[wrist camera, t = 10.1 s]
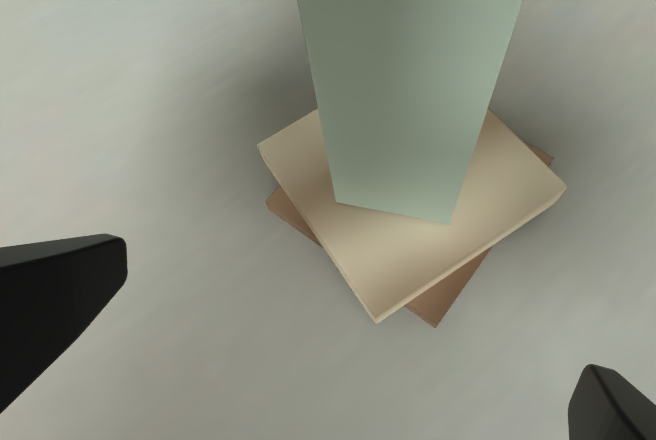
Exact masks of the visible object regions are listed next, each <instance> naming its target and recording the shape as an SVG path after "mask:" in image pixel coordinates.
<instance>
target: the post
mask: <svg viewBox="0 0 656 440" xmlns="http://www.w3.org/2000/svg"><path fill="white" fill-rule="evenodd" d="M297 2H298V7H299V12H300V17H301V22H302V28H303V33H304V38H305V43H306V48H307V54H308V59H309V64H310V69H311V74H312V80H313V85H314V90H315V95H316V101H317V106H318V111H319V116H320V121H321V127H322V132H323V137H324V142H325V147H326V153H327V158H328V163H329V168H330V173H331V179H332V184H333V189H334V194H335V199H336V202H338V203H343V204H348V205H353V206H358V207H363V208H368V209H374V210H379V211H384V212H389V213H394V214H399V215H404V216H409V217H414V218H420V219H425V220H430V221H435V222H440V223H445V224H450V222H451V219H452V216H453V213H454V210H455V207H456V204H457V201H458V198H459V195H460V192H461V189H462V185H463V182H464V179H465V176H466V173H467V170H468V167H469V164H470V161H471V158H472V155H473V152H474V149H475V146H476V143H477V140H478V136H479V133H480V130H481V127H482V124H483V121H484V118H485V115H486V112H487V109H488V106H489V103H490V100H491V97H492V94H493V91H494V87H495V84H496V81H497V78H498V75H499V72H500V69H501V66H502V63H503V60H504V57H505V54H506V51H507V48H508V45H509V42H510V38H511V35H512V32H513V29H514V26H515V23H516V20H517V17H518V14H519V11H520V8H521V5H522V2H523V0H297Z"/></svg>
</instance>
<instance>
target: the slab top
mask: <svg viewBox="0 0 656 440" xmlns="http://www.w3.org/2000/svg"><path fill="white" fill-rule="evenodd" d="M257 146H258V149H259V151H260V153H261V155H262V158H263V160H264V162H265V163H266V165H267V166H268V168H269V169H270V171H271V172H272V174H273V175H274V177H275V178H276V180H277V181H278V182H279V184H280V185H281V187H282V188H283V190H284V191H285V193H286V194H287V196H288V197H289V198H290V200H291V201H292V203H293V204H294V206H295V207H296V209H297V210H298V212H299V213H300V215H301V216H302V217H303V219H304V220H305V222H306V223H307V225H308V226H309V228H310V229H311V231H312V232H313V233H314V235H315V236H316V238H317V239H318V241H319V242H320V244H321V245H322V247H323V248H324V249H325V251H326V252H327V254H328V255H329V257H330V258H331V260H332V261H333V263H334V264H335V266H336V267H337V268H338V270H339V271H340V273H341V274H342V276H343V277H344V279H345V280H346V282H347V283H348V284H349V286H350V287H351V289H352V290H353V292H354V293H355V295H356V296H357V298H358V299H359V301H360V302H361V303H362V305H363V306H364V308H365V309H366V311H367V312H368V314H369V315H370V317H371V318H372V319H373V321H374V322H375V324H377V323H379V322H380V321H382V320H383V319H384V318H386V317H387V316H389V315H390V314H392V313H393V312H395V311H396V310H398V309H399V308H401V307H402V306H404V305H405V304H407V303H408V302H410V301H411V300H413V299H414V298H416V297H417V296H418V295H420V294H421V293H423V292H424V291H426V290H427V289H429V288H430V287H432V286H433V285H435V284H436V283H438V282H439V281H441V280H442V279H444V278H445V277H447V276H448V275H449V274H451V273H452V272H454V271H455V270H457V269H458V268H460V267H461V266H463V265H464V264H466V263H467V262H469V261H470V260H472V259H473V258H475V257H476V256H478V255H479V254H481V253H482V252H483V251H485V250H486V249H488V248H489V247H491V246H492V245H494V244H495V243H497V242H498V241H500V240H501V239H503V238H504V237H506V236H507V235H509V234H510V233H512V232H513V231H515V230H516V229H518V228H519V227H520V226H522V225H523V224H525V223H526V222H528V221H529V220H531V219H532V218H534V217H535V216H537V215H538V214H540V213H541V212H543V211H544V210H546V209H547V208H549V207H550V206H552V205H553V204H554V203H555V202H556V201H557V200H558V199H559V197H560V196H561V195H562V193H563V192H564V191H565V190H566V188H567V187H568V186H567V185H566V184H565V183H564V182H563V181H562V180H561V179H560V178H559V177H558V176H557V175H556V174H555V173H554V172H553V171H552V170H551V169H550V168H549V167H548V166H547V165H546V164H544V163H543V162H542V161H541V160H540V159H539V158H538V157H537V156H536V155H535V154H534V153H533V152H532V151H531V150H530V149H529V148H528V147H527V146H526V145H525V144H524V143H523V142H522V141H521V140H520V139H519V138H518V137H517V136H516V135H515V134H514V133H513V132H512V131H511V130H510V129H509V128H508V127H507V126H506V125H505V124H504V123H503V122H502V121H501V120H500V119H499V118H498V117H497V116H496V115H495V114H494V113H493V112H492V111H491V110H490V109H489V108H488V109H487V112H486V115H485V118H484V121H483V124H482V127H481V130H480V133H479V136H478V140H477V143H476V146H475V149H474V152H473V155H472V158H471V161H470V164H469V167H468V170H467V173H466V176H465V179H464V182H463V185H462V189H461V192H460V195H459V198H458V201H457V204H456V207H455V210H454V213H453V216H452V219H451V222H450V224H445V223H440V222H435V221H430V220H425V219H420V218H414V217H409V216H404V215H399V214H394V213H389V212H384V211H379V210H374V209H368V208H363V207H358V206H353V205H348V204H343V203H338V202H336V199H335V194H334V189H333V184H332V179H331V173H330V168H329V163H328V158H327V153H326V147H325V142H324V137H323V132H322V127H321V121H320V116H319V111H318V108H317V109H316V110H314V111H312V112H311V113H309V114H307V115H306V116H304V117H302V118H301V119H299V120H297V121H295V122H294V123H292V124H290V125H289V126H287V127H285V128H284V129H282V130H280V131H279V132H277V133H275V134H273V135H272V136H270V137H268V138H267V139H265V140H263V141H262V142H260V143H258V144H257Z"/></svg>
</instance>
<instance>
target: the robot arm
mask: <svg viewBox="0 0 656 440" xmlns="http://www.w3.org/2000/svg"><path fill="white" fill-rule="evenodd" d="M127 274H128V270H127V248H126V243H125V241H124V240H123V239H122V238H120V237H117V236H113V235H110V234H98V235H90V236H83V237H75V238H68V239H60V240H53V241H45V242H38V243H31V244H23V245H16V246H8V247H1V248H0V414H1V413H2V412H3V411H4V410H5V409H6V408H7V407H8V406H9V405H10V404H11V403H12V402H13V401H14V400H15V399H16V398H17V397H18V396H19V395H20V394H21V393H22V392H23V391H24V390H25V389H26V388H27V387H29V386H30V385H31V384H32V383H33V382H34V381H35V380H36V379H37V378H38V377H39V376H40V375H41V374H42V373H43V372H44V371H45V370H46V369H47V368H48V367H49V366H50V365H51V364H52V363H53V362H54V361H55V360H56V359H57V358H58V357H59V356H60V355H61V354H62V353H63V352H64V351H66V350H67V349H68V348H69V347H70V346H71V345H72V344H73V343H74V341H75V340H76V339H77V338H78V337H79V336H80V335H81V334H82V333H83V332H84V331H85V329H86V328H87V327H88V326H89V325H90V324H91V322H92V321H93V320H94V319H95V318H96V317H97V315H98V314H99V313H100V312H101V311H102V309H103V308H104V307H105V306H106V305H107V304H108V302H109V301H110V300H111V299H112V298H113V297H114V295H115V294H116V293H117V292H118V291H119V289H120V288H121V287H122V286H123V285H124V283H125V281H126V278H127ZM568 425H569V440H656V405H655V404H654V403H653V402H651V401H650V400H649V399H648V398H647V397H646V396H644V395H643V394H642V393H641V392H640V391H639V390H637V389H636V388H635V387H634V386H633V385H632V384H631V383H629V382H628V381H627V380H626V379H625V378H624V377H622V376H621V375H620V374H619V373H618V372H616V371H615V370H612V369H609V368H605V367H602V366H598V365H594V364H589V365H587V366H586V367H585V368H584V369H583V371H582V374H581V376H580V378H579V381H578V383H577V385H576V388H575V390H574V393H573V395H572V397H571V400H570V403H569V407H568Z"/></svg>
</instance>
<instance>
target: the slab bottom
mask: <svg viewBox="0 0 656 440" xmlns="http://www.w3.org/2000/svg"><path fill="white" fill-rule="evenodd" d="M522 142H523V141H522ZM523 143H524V144H525V145H526V146H527V147H528V148H529V149H530V150H531V151H532V152H533V153H534V154H535V155H536V156H537V157H538V158H539V159H540V160H541V161H542V162H543V163H544V164H546V165H547V166H549V165H550V163H551V162H552V160H553V159H554V158H553V157H551V156H549V155H547V154H545V153H544V152H542V151H540V150H538V149H536V148H534V147H532V146H530V145H528V144H526V143H525V142H523ZM266 204H267V206H268V208H269V209H270V210H271V211H272V212H274V213H275V214H277V215H278V216H279V217H281V218H282V219H284V220H285V221H286V222H288V223H289V224H290V225H292V226H293V227H295V228H296V229H297V230H299V231H300V232H302V233H303V234H304V235H306V236H307V237H309V238H310V239H311V240H313V241H314V242H316V243H317V244H318V245H320V246H321V247H322V245H321V244H320V242H319V241H318V239H317V238H316V236H315V235H314V233H313V232H312V231H311V229H310V228H309V226H308V225H307V223H306V222H305V220H304V219H303V217H302V216H301V215H300V213H299V212H298V210H297V209H296V207H295V206H294V204H293V203H292V201H291V200H290V198H289V197H288V196H287V194H286V193H285V191H284V190H283V188H282V187H281V185H280V186H279V187H278V188H277V189H276V190H275V192H274V193H273V194H272V195H271V196H270V197H269V198H268V199H267V201H266ZM492 247H493V245H492V246H491V247H489V248H488V249H486V250H485V251H483V252H482V253H481V254H479V255H478V256H476V257H475V258H473V259H472V260H470V261H469V262H467V263H466V264H464V265H463V266H461V267H460V268H458V269H457V270H455V271H454V272H452V273H451V274H449V275H448V276H447V277H445V278H444V279H442V280H441V281H439V282H438V283H436V284H435V285H433V286H432V287H430V288H429V289H427V290H426V291H424V292H423V293H421V294H420V295H418V296H417V297H416V298H414V299H413V300H411V301H410V302H408V303H407V304H405V305H404V306H405V307H406V308H408V309H409V310H411V311H412V312H413V313H415V314H416V315H418V316H419V317H420V318H422V319H423V320H425V321H426V322H427V323H429V324H430V325H432V326H433V327H434V328H436V327H437V325H438V324H439V322H440V321H441V319H442V318H443V317H444V315H445V314H446V312H447V311H448V309H449V308H450V307H451V305H452V304H453V302H454V301H455V299H456V298H457V297H458V295H459V294H460V292H461V291H462V289H463V288H464V287H465V285H466V284H467V282H468V281H469V279H470V278H471V277H472V275H473V274H474V272H475V271H476V269H477V268H478V267H479V265H480V264H481V262H482V261H483V259H484V258H485V257H486V255H487V254H488V252H489V251H490V249H491V248H492Z"/></svg>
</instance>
